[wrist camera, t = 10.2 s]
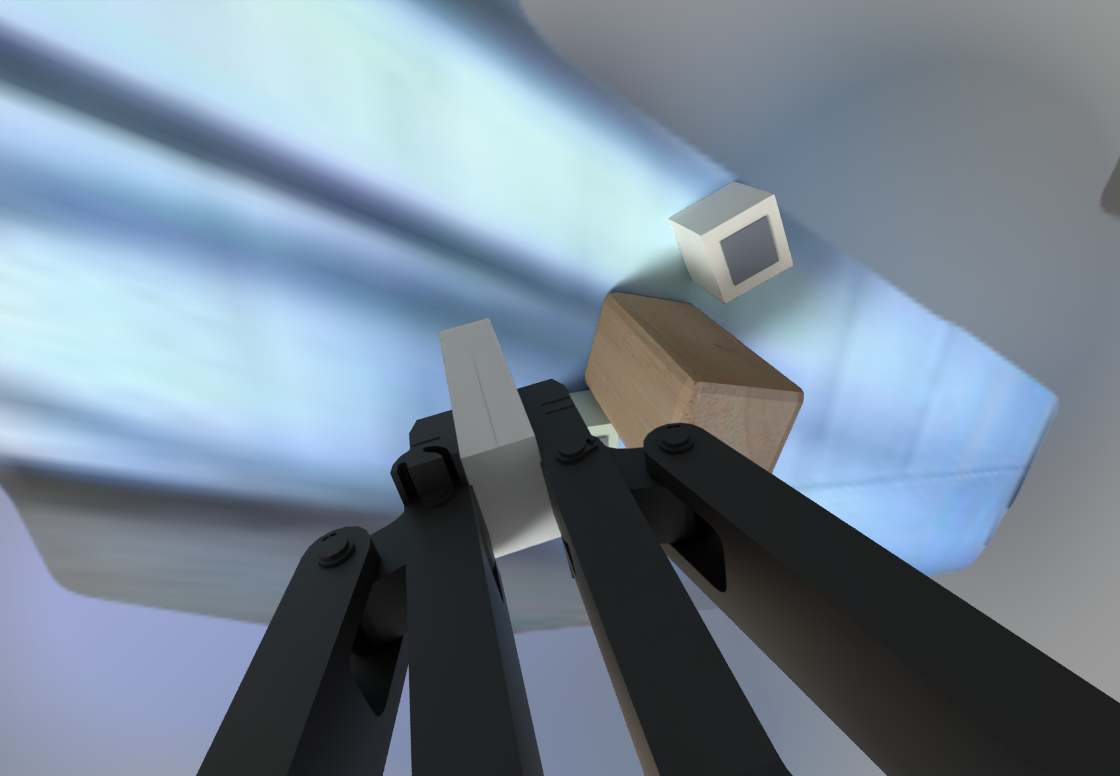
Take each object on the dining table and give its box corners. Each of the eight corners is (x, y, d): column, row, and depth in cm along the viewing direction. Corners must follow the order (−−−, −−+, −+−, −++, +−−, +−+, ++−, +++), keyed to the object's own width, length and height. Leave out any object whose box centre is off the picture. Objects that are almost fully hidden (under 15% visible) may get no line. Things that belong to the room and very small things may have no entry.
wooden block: (694, 301, 60) (814, 391, 43) (665, 388, 64) (764, 503, 47) (603, 287, 57) (693, 378, 40) (579, 379, 61) (651, 499, 44)
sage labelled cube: (531, 397, 61) (547, 434, 55) (597, 388, 62) (619, 423, 56) (534, 454, 64) (549, 495, 58) (596, 444, 66) (618, 483, 59)
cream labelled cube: (667, 218, 56) (702, 236, 49) (733, 181, 56) (776, 194, 49) (691, 280, 59) (726, 305, 53) (753, 245, 59) (795, 266, 53)
